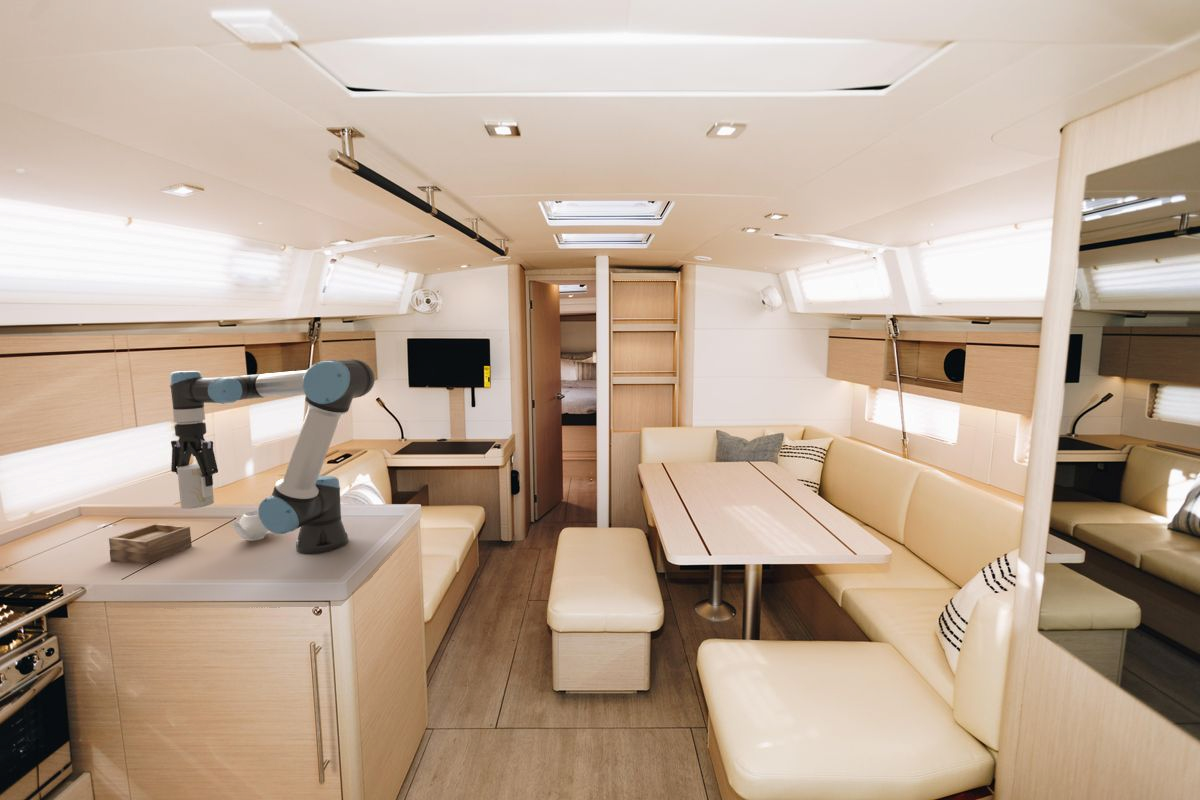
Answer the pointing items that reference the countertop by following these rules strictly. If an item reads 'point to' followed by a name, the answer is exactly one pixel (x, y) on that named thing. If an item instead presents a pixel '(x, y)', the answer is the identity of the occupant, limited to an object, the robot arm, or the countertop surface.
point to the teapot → (250, 526)
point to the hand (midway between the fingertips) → (196, 495)
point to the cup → (192, 487)
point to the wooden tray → (149, 538)
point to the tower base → (151, 556)
